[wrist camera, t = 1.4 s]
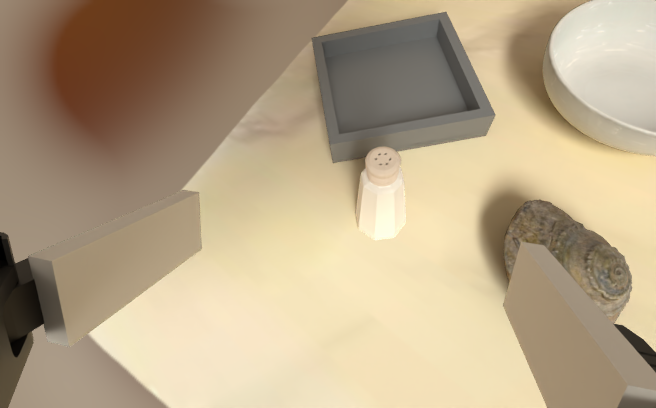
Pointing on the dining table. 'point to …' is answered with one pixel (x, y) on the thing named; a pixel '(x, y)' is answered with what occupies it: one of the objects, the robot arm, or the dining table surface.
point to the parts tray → (398, 87)
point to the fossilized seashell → (572, 253)
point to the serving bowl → (606, 72)
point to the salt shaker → (381, 195)
